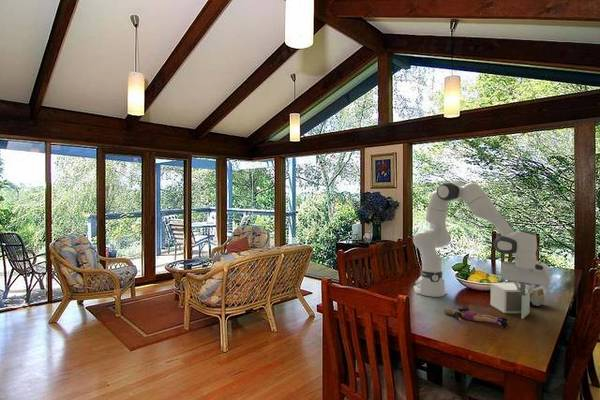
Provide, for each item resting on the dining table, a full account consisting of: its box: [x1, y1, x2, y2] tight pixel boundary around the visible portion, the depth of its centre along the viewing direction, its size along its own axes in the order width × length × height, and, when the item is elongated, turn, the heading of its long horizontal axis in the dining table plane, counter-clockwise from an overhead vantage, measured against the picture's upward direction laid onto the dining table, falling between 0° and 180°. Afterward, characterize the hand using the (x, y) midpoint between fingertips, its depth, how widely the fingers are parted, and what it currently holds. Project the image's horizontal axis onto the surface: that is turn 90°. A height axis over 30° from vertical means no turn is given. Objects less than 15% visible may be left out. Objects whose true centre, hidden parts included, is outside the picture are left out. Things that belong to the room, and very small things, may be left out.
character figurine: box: [442, 306, 508, 329], centre depth 169 cm, size 20×4×28 cm
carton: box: [489, 282, 528, 314], centre depth 185 cm, size 14×12×12 cm
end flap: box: [519, 283, 531, 320], centre depth 173 cm, size 2×12×17 cm, turn 133°
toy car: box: [506, 281, 546, 308], centre depth 198 cm, size 11×25×10 cm, turn 36°
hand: (524, 291), depth 169 cm, fingers open, 3 cm apart
